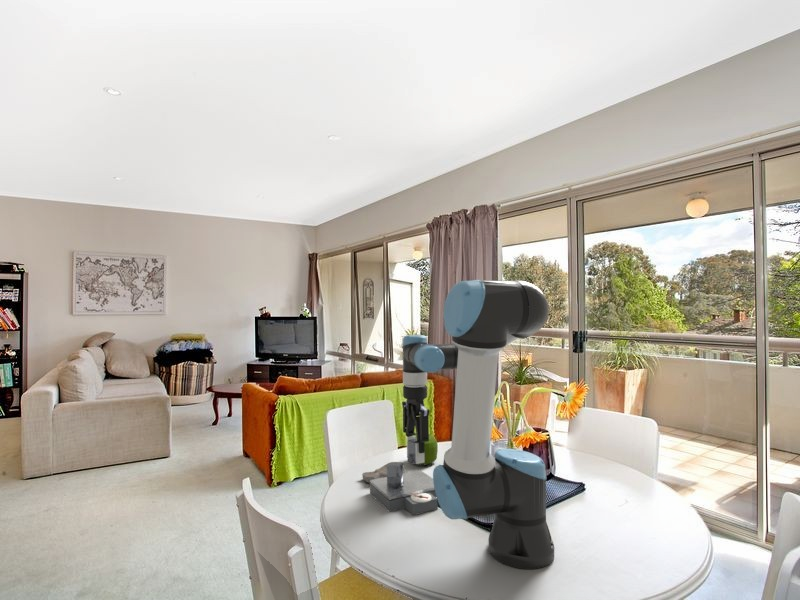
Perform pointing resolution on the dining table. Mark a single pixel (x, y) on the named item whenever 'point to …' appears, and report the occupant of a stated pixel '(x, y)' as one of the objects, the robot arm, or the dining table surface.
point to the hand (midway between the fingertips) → (415, 459)
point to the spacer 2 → (411, 451)
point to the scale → (408, 501)
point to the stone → (376, 474)
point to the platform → (405, 485)
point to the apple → (430, 450)
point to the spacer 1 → (394, 474)
